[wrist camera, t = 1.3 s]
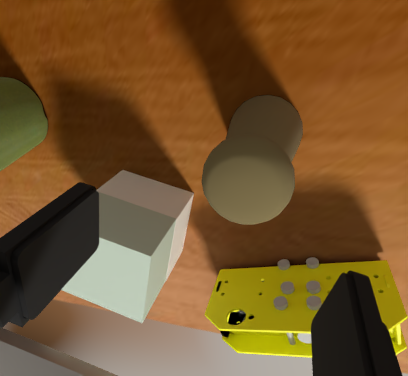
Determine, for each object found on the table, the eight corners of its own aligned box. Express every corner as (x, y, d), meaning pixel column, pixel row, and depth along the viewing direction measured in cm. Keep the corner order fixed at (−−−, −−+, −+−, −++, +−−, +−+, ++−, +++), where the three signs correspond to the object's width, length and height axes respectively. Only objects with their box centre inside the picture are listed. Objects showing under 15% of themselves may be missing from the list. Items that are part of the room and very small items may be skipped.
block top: (176, 218, 25) (151, 256, 21) (165, 281, 29) (142, 323, 25) (94, 190, 26) (54, 220, 22) (94, 254, 30) (61, 290, 26)
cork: (220, 150, 26) (175, 215, 17) (243, 83, 23) (204, 119, 14) (283, 175, 26) (273, 257, 16) (316, 111, 23) (327, 167, 13)
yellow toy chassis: (384, 250, 26) (413, 329, 19) (389, 296, 29) (417, 383, 21) (220, 261, 33) (198, 324, 26) (234, 298, 35) (217, 366, 28)
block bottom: (194, 192, 29) (176, 219, 25) (182, 250, 34) (165, 281, 29) (123, 169, 31) (94, 191, 26) (120, 227, 35) (95, 254, 31)
